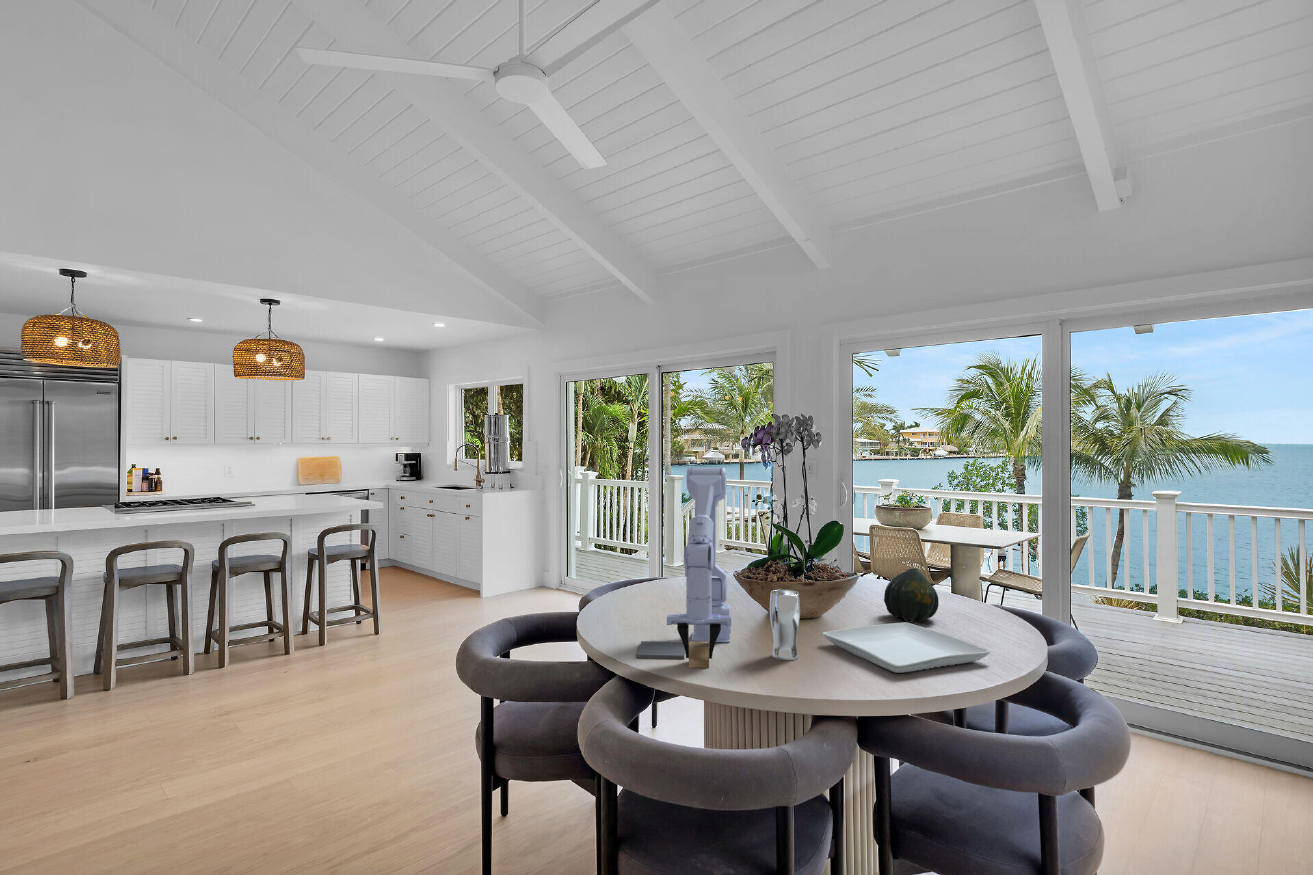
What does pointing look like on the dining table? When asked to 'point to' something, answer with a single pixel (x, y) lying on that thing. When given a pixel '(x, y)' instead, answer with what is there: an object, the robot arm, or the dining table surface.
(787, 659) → the beer glass
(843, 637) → the square plate
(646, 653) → the charcoal mat
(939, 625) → the dining table surface
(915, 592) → the squash
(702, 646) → the oak cube
